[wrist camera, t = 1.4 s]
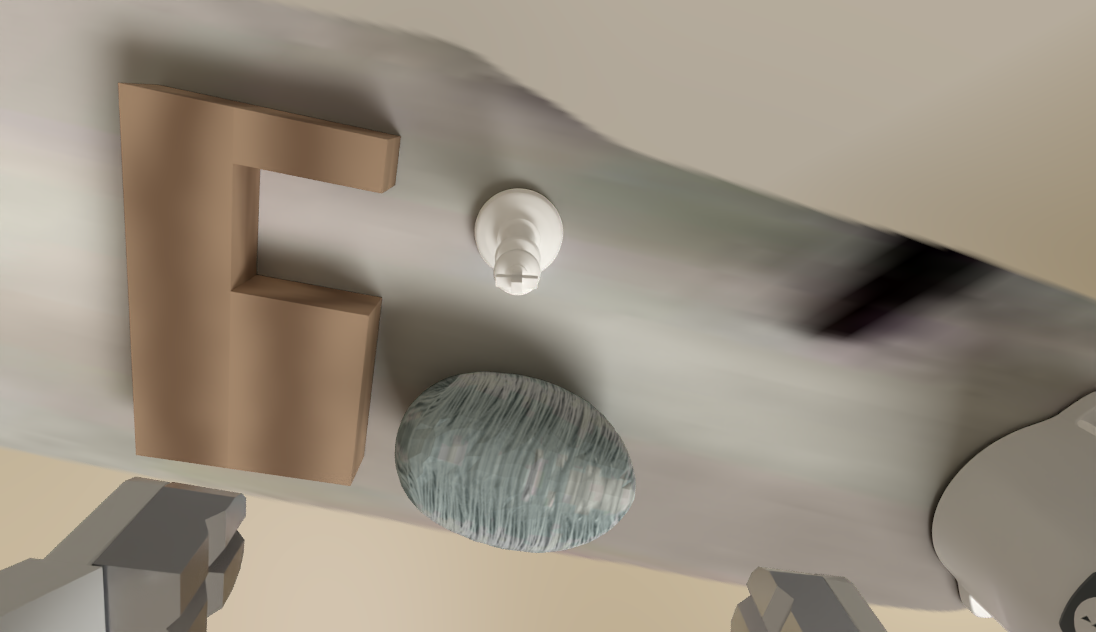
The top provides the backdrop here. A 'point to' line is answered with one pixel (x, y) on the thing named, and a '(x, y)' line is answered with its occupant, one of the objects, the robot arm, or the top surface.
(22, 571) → the robot arm
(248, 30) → the top surface
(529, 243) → the chess piece
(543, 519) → the yarn ball
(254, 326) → the notch board
